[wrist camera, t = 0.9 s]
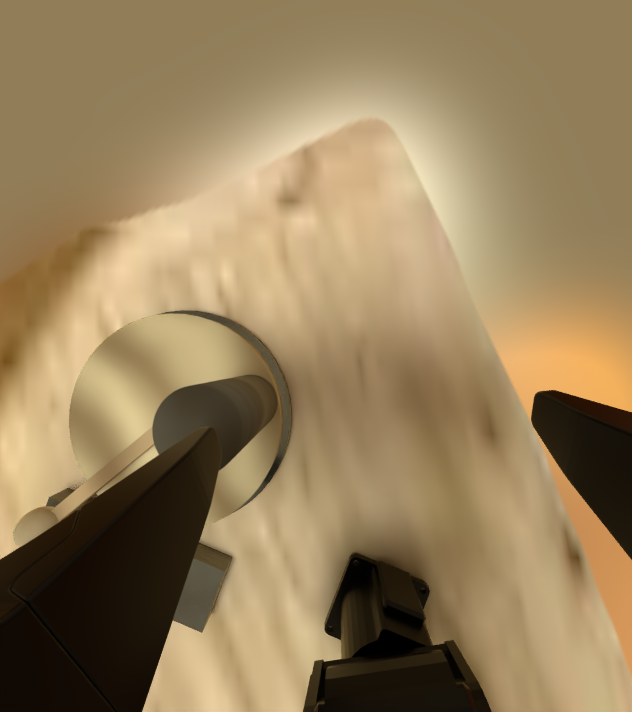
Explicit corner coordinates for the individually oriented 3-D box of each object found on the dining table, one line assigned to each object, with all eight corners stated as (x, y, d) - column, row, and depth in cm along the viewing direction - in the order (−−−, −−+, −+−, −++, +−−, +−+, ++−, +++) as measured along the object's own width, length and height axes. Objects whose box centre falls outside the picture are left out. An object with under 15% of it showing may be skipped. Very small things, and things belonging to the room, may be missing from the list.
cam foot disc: (116, 602, 24) (-47, 786, 14) (-4, 443, 25) (-245, 505, 15) (325, 433, 24) (320, 493, 13) (197, 274, 24) (94, 211, 14)
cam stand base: (222, 619, 25) (213, 639, 23) (36, 539, 26) (14, 552, 24) (321, 355, 25) (321, 354, 23) (131, 283, 26) (116, 277, 24)
